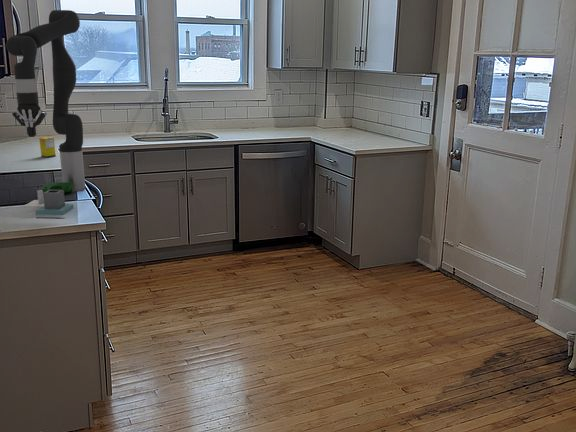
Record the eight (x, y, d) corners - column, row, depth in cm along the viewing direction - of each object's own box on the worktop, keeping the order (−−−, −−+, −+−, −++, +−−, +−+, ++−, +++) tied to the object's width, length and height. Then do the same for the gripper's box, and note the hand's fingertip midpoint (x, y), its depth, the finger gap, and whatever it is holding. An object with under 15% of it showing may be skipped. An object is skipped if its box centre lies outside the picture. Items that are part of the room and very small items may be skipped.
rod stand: (34, 203, 239) (33, 187, 237) (59, 203, 238) (57, 187, 237) (23, 209, 229) (21, 193, 228) (48, 210, 229) (46, 193, 227)
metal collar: (51, 205, 224) (49, 189, 223) (65, 205, 224) (63, 189, 222) (44, 208, 219) (43, 193, 217) (59, 209, 219) (57, 193, 217)
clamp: (49, 208, 249) (37, 191, 244) (52, 201, 254) (40, 184, 249) (75, 197, 248) (64, 179, 243) (77, 191, 253) (66, 173, 249)
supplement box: (50, 155, 349) (48, 136, 346) (56, 156, 345) (54, 137, 343) (40, 156, 345) (38, 137, 342) (46, 157, 341) (44, 138, 338)
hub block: (48, 211, 227) (46, 190, 225) (74, 211, 227) (72, 190, 225) (36, 218, 218) (33, 196, 216) (63, 218, 217) (61, 197, 215)
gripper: (48, 90, 230) (52, 135, 235) (14, 90, 230) (19, 135, 235) (39, 91, 223) (44, 138, 227) (4, 91, 223) (10, 138, 228)
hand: (32, 136), depth 231 cm, fingers closed
